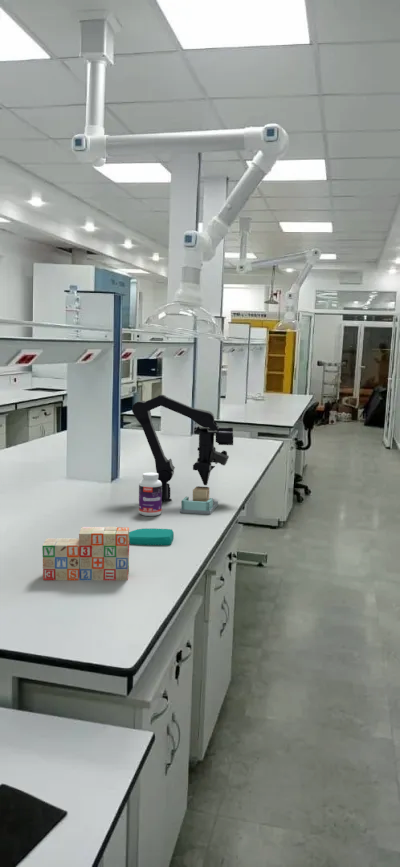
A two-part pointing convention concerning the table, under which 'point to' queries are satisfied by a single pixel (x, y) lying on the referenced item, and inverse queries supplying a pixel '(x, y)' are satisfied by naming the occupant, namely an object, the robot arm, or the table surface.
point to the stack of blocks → (88, 555)
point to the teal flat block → (151, 537)
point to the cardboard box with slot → (201, 494)
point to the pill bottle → (150, 495)
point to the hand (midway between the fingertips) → (205, 485)
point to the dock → (198, 506)
